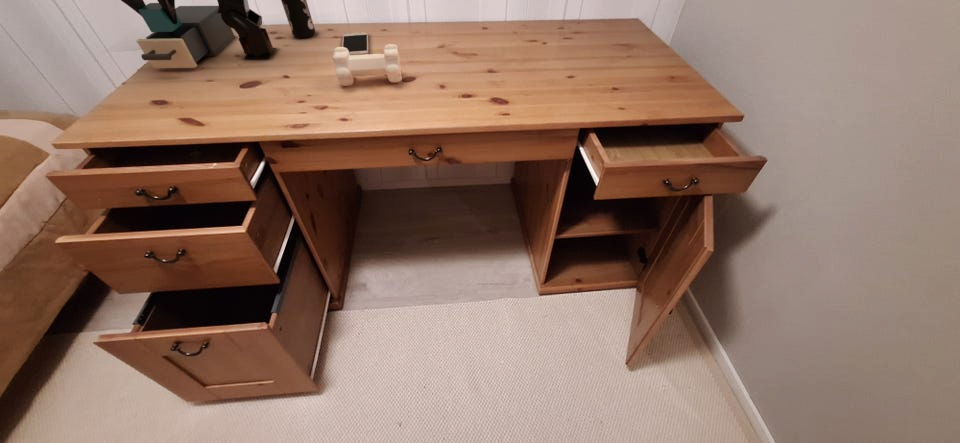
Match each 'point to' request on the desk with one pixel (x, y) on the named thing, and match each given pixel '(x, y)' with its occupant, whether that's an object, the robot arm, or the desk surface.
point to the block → (158, 18)
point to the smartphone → (356, 43)
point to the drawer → (174, 48)
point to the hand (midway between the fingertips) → (164, 23)
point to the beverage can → (299, 18)
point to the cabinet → (207, 26)
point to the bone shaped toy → (367, 65)
